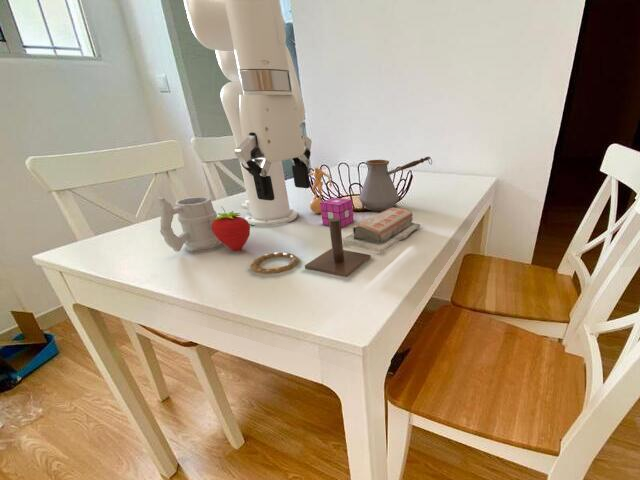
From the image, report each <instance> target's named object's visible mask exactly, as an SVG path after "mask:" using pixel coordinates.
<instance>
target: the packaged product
mask: <svg viewBox="0 0 640 480" xmlns="http://www.w3.org/2000/svg"><path fill="white" fill-rule="evenodd" d="M413 220H414V219H413V212H412V211H410V210H409V209H405V208H401V207H392V208H390V209H387V210H385V211H380V212H379V213H377V214H375V215H372V216H371V217H368V218H367V219H364V220H363V221H360V222H358V223H356V224H355V225H353V227H352V233H351V234H349V235H347V236H345V237H342V244H344V245H348V246H352V247H356V248H360V249H363V250H364V249H365V250H368V251H373V252H377V253H382V252H384V251H385V250H387V249H388V248H389V247H391V246H392V245H394V244H396V243H397V242H399V241H402V240H404V239H406V238H408V237H409V235H410V234H411V233H412V232H414V231H415V230H417V229H419V228H420V227H421V223H417V222H413Z"/></svg>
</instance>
